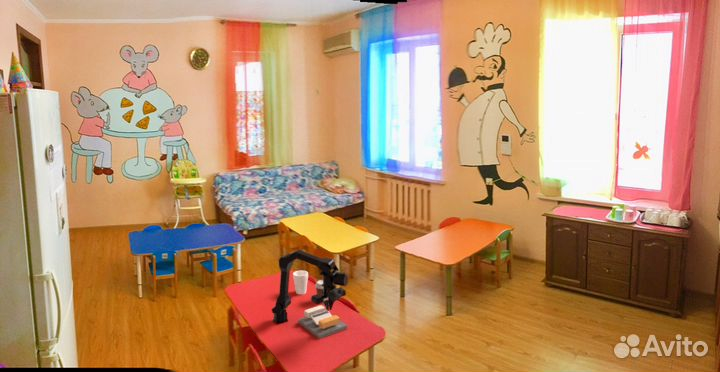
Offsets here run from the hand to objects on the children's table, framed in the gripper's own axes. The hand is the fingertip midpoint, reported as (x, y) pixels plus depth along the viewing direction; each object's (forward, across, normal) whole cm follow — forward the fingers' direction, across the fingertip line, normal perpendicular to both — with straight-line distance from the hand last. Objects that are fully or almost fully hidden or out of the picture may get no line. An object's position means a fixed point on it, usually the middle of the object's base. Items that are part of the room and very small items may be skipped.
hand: (329, 310), depth 263 cm
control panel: (+12, 0, +7) cm, 14 cm away
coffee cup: (+12, +17, +34) cm, 40 cm away
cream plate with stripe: (+7, 0, +7) cm, 10 cm away
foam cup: (+12, +12, +52) cm, 55 cm away
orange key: (+8, 0, 0) cm, 8 cm away
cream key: (+8, 0, +15) cm, 17 cm away
